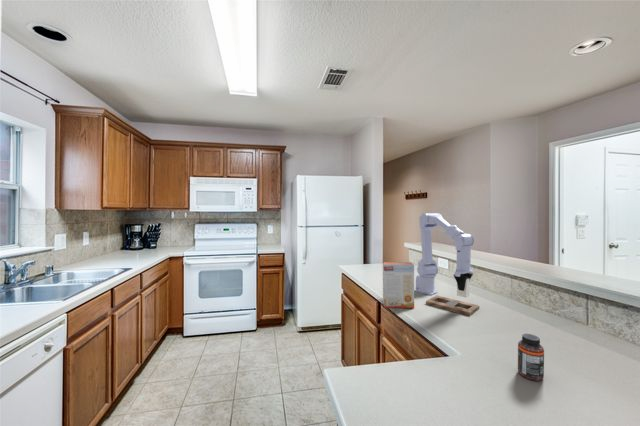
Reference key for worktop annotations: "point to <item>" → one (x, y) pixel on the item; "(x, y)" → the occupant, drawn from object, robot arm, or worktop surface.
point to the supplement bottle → (531, 357)
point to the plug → (466, 289)
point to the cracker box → (398, 284)
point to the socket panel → (453, 305)
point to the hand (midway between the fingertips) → (463, 289)
